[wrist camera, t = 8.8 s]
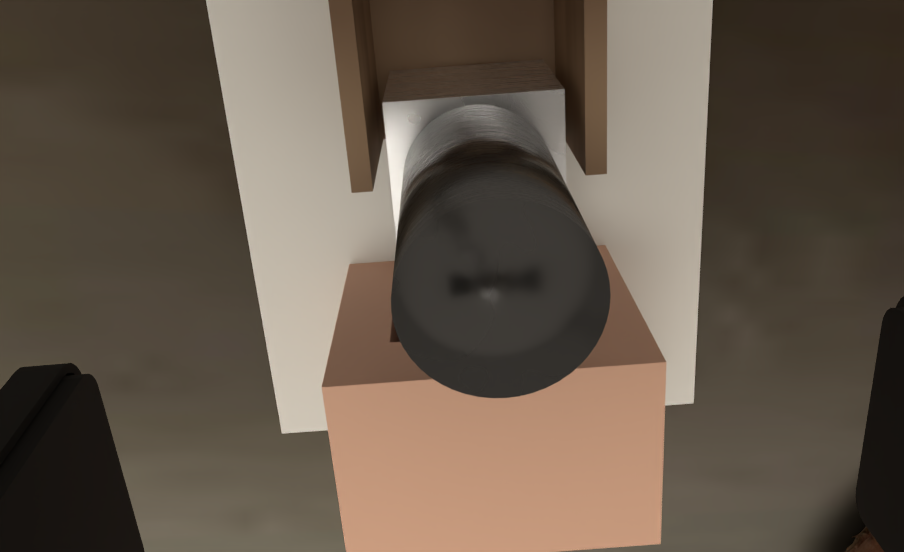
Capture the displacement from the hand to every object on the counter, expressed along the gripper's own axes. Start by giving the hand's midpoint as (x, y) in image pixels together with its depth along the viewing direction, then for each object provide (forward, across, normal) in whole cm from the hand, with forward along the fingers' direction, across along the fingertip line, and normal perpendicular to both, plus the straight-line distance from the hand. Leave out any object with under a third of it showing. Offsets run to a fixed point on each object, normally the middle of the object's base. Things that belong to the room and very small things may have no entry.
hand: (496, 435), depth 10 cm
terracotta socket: (+16, -1, +6) cm, 17 cm away
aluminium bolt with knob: (+15, -1, +3) cm, 16 cm away
